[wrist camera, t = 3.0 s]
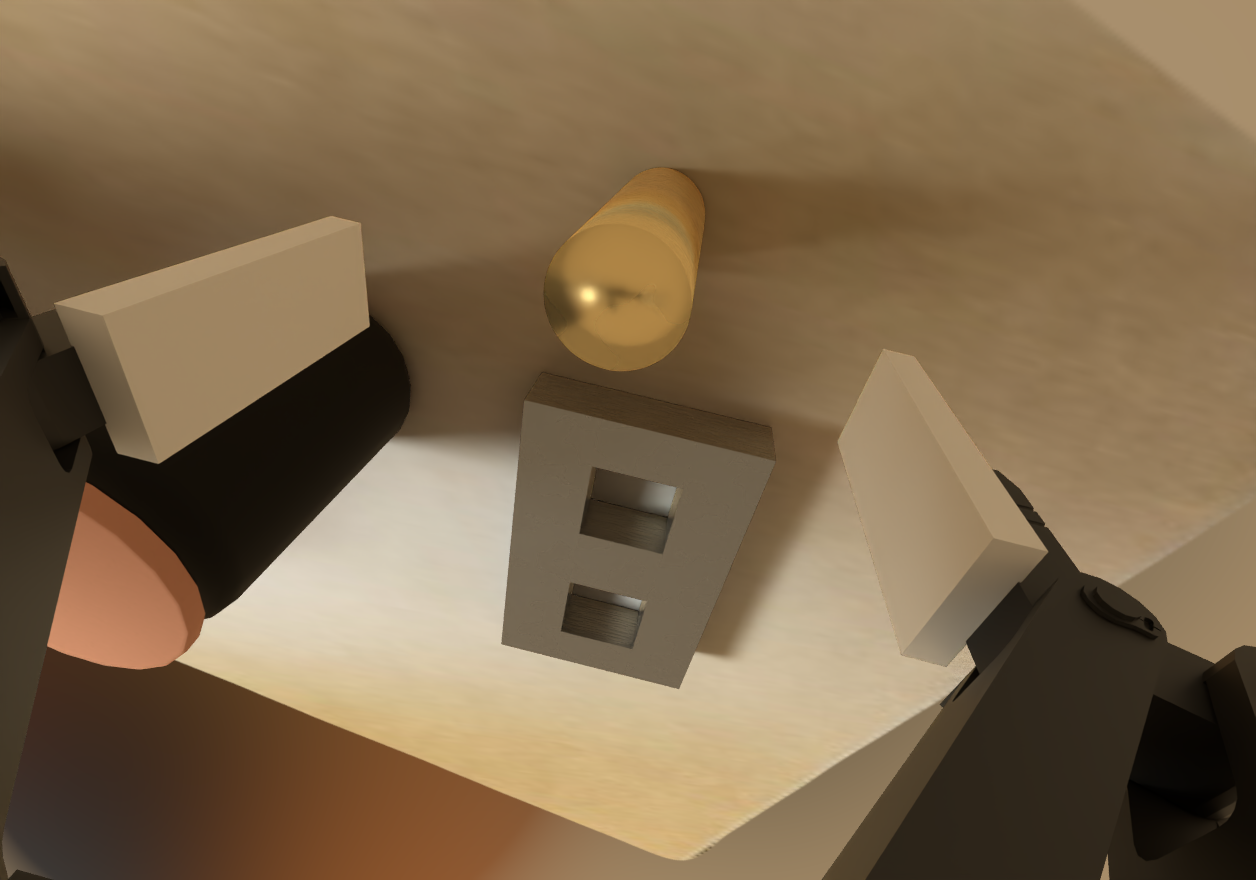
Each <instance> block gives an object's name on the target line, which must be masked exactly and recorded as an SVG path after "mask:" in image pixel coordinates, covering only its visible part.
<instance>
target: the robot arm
mask: <svg viewBox="0 0 1256 880" xmlns="http://www.w3.org/2000/svg"><path fill="white" fill-rule="evenodd" d="M53 304H54V306H55V308H56V309H55V310H52V311H49V312H45V313H42V314H39V315H36V316H33V317H31V315H30V313H29V311H28V309H27V307H26V304H25V302H24V300H23V298H22V296H21V294H20V291H19V289H18V287H17V285H16V283H15V280H14V278H13V276H12V274H11V272H10V269H9V267H8V265H7V263H6V261H5V260H4V259H2V258H0V880H52V879H48V878H45V877H41V876H38V875H34V874H31V873H27V872H23V871H20V870H16V871H15V872H14V873H13V875H12V876H11V877H10V878H9V879H8V876H7V871H6V868H5V864H4V860H3V852H2V838H3V832H4V826H5V822H6V817H7V813H8V809H9V805H10V800H11V796H12V792H13V788H14V783H15V779H16V775H17V771H18V767H19V762H20V758H21V754H22V750H23V746H24V741H25V737H26V733H27V729H28V724H29V720H30V716H31V711H32V707H33V703H34V699H35V695H36V690H37V686H38V682H39V678H40V673H41V669H42V665H43V661H44V657H45V653H46V648H47V644H48V640H49V636H50V631H51V627H52V623H53V619H54V614H55V610H56V606H57V602H58V598H59V593H60V589H61V585H62V581H63V576H64V572H65V568H66V564H67V560H68V555H69V551H70V547H71V543H72V538H73V534H74V530H75V526H76V521H77V517H78V513H79V509H80V505H81V500H82V496H83V492H84V488H85V483H86V479H87V475H88V471H89V467H90V462H91V458H92V451H91V447H90V445H89V442H88V440H87V438H86V436H85V435H86V434H88V433H90V432H92V431H93V430H95V429H97V428H99V427H101V426H103V425H105V426H106V428H107V430H108V433H109V435H110V437H111V440H112V442H113V444H114V447H115V449H116V451H117V453H118V454H122V455H126V456H130V457H134V458H138V459H141V460H145V461H149V462H153V463H157V464H159V463H161V462H162V461H164V460H166V459H167V458H169V457H170V456H172V455H173V454H175V453H176V452H178V451H179V450H181V449H182V448H184V447H185V446H187V445H189V444H190V443H192V442H193V441H195V440H196V439H198V438H199V437H201V436H202V435H204V434H205V433H207V432H208V431H210V430H211V429H213V428H215V427H216V426H218V425H219V424H221V423H222V422H224V421H225V420H227V419H228V418H230V417H231V416H233V415H234V414H236V413H238V412H239V411H241V410H242V409H244V408H245V407H247V406H248V405H250V404H251V403H253V402H254V401H256V400H257V399H259V398H261V397H262V396H264V395H265V394H267V393H268V392H270V391H271V390H273V389H274V388H276V387H277V386H279V385H280V384H282V383H284V382H285V381H287V380H288V379H290V378H291V377H293V376H294V375H296V374H297V373H299V372H300V371H302V370H303V369H305V368H307V367H308V366H310V365H311V364H313V363H314V362H316V361H317V360H319V359H320V358H322V357H323V356H325V355H326V354H328V353H329V352H331V351H333V350H334V349H336V348H337V347H339V346H340V345H342V344H343V343H345V342H346V341H348V340H349V339H351V338H352V337H354V336H356V335H357V334H359V333H360V332H362V331H363V330H365V329H366V328H368V327H369V326H370V324H369V312H368V301H367V289H366V278H365V266H364V255H363V243H362V232H361V223H359V222H355V221H351V220H346V219H342V218H338V217H334V216H329V217H326V218H323V219H320V220H316V221H313V222H310V223H307V224H304V225H301V226H297V227H294V228H291V229H288V230H285V231H281V232H278V233H275V234H272V235H269V236H266V237H262V238H259V239H256V240H253V241H250V242H246V243H243V244H240V245H237V246H234V247H231V248H227V249H224V250H221V251H218V252H215V253H211V254H208V255H205V256H202V257H199V258H196V259H192V260H189V261H186V262H183V263H180V264H177V265H173V266H170V267H167V268H164V269H161V270H157V271H154V272H151V273H148V274H145V275H142V276H138V277H135V278H132V279H129V280H126V281H122V282H119V283H116V284H113V285H110V286H107V287H103V288H100V289H97V290H94V291H91V292H87V293H84V294H81V295H78V296H75V297H72V298H68V299H65V300H62V301H59V302H56V303H53ZM837 442H838V446H839V449H840V453H841V456H842V459H843V463H844V466H845V469H846V473H847V476H848V479H849V483H850V486H851V489H852V493H853V496H854V499H855V503H856V506H857V509H858V513H859V516H860V519H861V523H862V526H863V529H864V533H865V536H866V539H867V543H868V546H869V549H870V553H871V556H872V559H873V563H874V566H875V569H876V573H877V576H878V580H879V583H880V586H881V590H882V593H883V596H884V600H885V603H886V606H887V610H888V613H889V616H890V620H891V623H892V626H893V630H894V633H895V636H896V640H897V643H898V646H899V650H900V653H901V655H902V656H906V657H910V658H914V659H918V660H922V661H926V662H930V663H933V664H937V665H941V666H945V667H947V666H948V665H949V663H950V662H951V661H952V660H953V659H954V658H955V657H956V656H957V654H958V653H959V652H960V651H961V650H962V649H963V648H964V646H965V645H966V644H967V646H968V648H969V650H970V653H971V655H972V658H973V660H974V662H975V665H976V666H975V667H974V668H973V669H972V671H971V672H970V673H969V674H968V675H967V676H966V677H965V678H964V679H963V680H962V681H961V682H960V683H959V684H958V685H957V687H956V688H955V689H954V690H953V691H952V692H951V693H950V694H949V695H948V696H947V697H946V698H945V699H944V700H943V701H942V703H941V704H940V705H941V706H942V707H943V709H942V710H941V712H940V713H939V714H938V716H937V717H936V719H935V720H934V722H933V723H932V724H931V726H930V727H929V729H928V730H927V732H926V733H925V734H924V736H923V737H922V739H921V740H920V741H919V743H918V744H917V746H916V747H915V748H914V750H913V751H912V753H911V754H910V756H909V757H908V758H907V760H906V761H905V763H904V764H903V765H902V767H901V768H900V770H899V771H898V773H897V774H896V775H895V777H894V778H893V780H892V781H891V782H890V784H889V785H888V787H887V788H886V789H885V791H884V792H883V794H882V795H881V797H880V798H879V799H878V801H877V802H876V804H875V805H874V806H873V808H872V809H871V811H870V812H869V814H868V815H867V816H866V818H865V819H864V821H863V822H862V823H861V825H860V826H859V828H858V829H857V831H856V832H855V833H854V835H853V836H852V838H851V839H850V841H849V842H848V843H847V845H846V846H845V848H844V849H843V851H842V852H841V853H840V855H839V856H838V857H837V859H836V860H835V862H834V863H833V864H832V866H831V867H830V869H829V870H828V872H827V873H826V874H825V876H824V877H823V879H822V880H1100V878H1101V874H1102V871H1103V868H1104V864H1105V861H1106V857H1107V854H1108V865H1109V878H1110V880H1256V647H1252V646H1245V645H1244V646H1241V647H1239V648H1237V649H1235V650H1233V651H1232V652H1230V653H1229V654H1228V655H1226V656H1225V657H1224V658H1222V659H1221V660H1220V661H1218V662H1217V663H1216V664H1214V663H1212V662H1210V661H1208V660H1206V659H1203V658H1201V657H1199V656H1197V655H1194V654H1192V653H1190V652H1188V651H1185V650H1183V649H1181V648H1179V647H1177V646H1174V645H1172V644H1170V643H1168V642H1167V637H1166V631H1165V630H1164V628H1163V627H1162V625H1161V624H1160V623H1159V621H1158V620H1157V618H1156V617H1155V616H1154V615H1153V614H1152V613H1151V612H1150V611H1149V610H1148V609H1146V608H1145V607H1144V606H1143V605H1142V604H1141V603H1140V602H1139V601H1137V600H1136V599H1134V598H1133V597H1132V596H1130V595H1129V594H1127V593H1126V592H1124V591H1123V590H1121V589H1120V588H1118V587H1116V586H1114V585H1112V584H1110V583H1108V582H1106V581H1104V580H1102V579H1101V578H1098V577H1094V576H1091V575H1088V574H1085V573H1082V572H1080V571H1079V570H1078V569H1077V567H1076V566H1075V565H1074V563H1073V562H1072V560H1071V559H1070V558H1069V556H1068V555H1067V553H1066V552H1065V551H1064V549H1063V548H1062V547H1061V545H1060V544H1059V542H1058V541H1057V540H1056V538H1055V537H1054V535H1053V534H1052V533H1051V531H1050V530H1049V529H1048V528H1047V527H1044V525H1045V523H1044V522H1043V520H1042V519H1041V517H1040V516H1039V515H1038V513H1037V512H1034V511H1033V509H1034V508H1033V506H1032V505H1031V504H1030V502H1029V501H1028V499H1027V498H1026V497H1025V495H1024V494H1023V492H1022V491H1021V490H1020V489H1019V488H1018V487H1017V486H1016V485H1014V484H1013V483H1012V482H1011V481H1010V480H1009V479H1007V478H1006V477H1005V476H1004V475H1003V474H1001V473H1000V472H999V471H997V470H993V469H991V467H990V466H989V464H988V463H987V461H986V460H985V458H984V457H983V456H982V454H981V453H980V451H979V450H978V448H977V447H976V445H975V444H974V442H973V441H972V439H971V438H970V437H969V435H968V434H967V432H966V431H965V429H964V428H963V426H962V425H961V423H960V422H959V420H958V419H957V418H956V416H955V415H954V413H953V412H952V410H951V409H950V407H949V406H948V404H947V403H946V401H945V400H944V399H943V397H942V396H941V394H940V393H939V391H938V390H937V388H936V387H935V385H934V384H933V383H932V381H931V380H930V378H929V377H928V375H927V374H926V372H925V371H924V369H923V368H922V366H921V365H920V364H919V362H918V361H917V359H916V358H915V356H911V355H907V354H903V353H899V352H895V351H890V350H886V349H883V350H882V352H881V354H880V356H879V358H878V360H877V362H876V364H875V366H874V368H873V370H872V372H871V374H870V376H869V378H868V380H867V382H866V384H865V386H864V388H863V390H862V392H861V394H860V396H859V398H858V401H857V403H856V405H855V407H854V409H853V411H852V413H851V415H850V417H849V419H848V421H847V423H846V425H845V427H844V429H843V431H842V433H841V435H840V437H839V439H838V441H837Z"/></svg>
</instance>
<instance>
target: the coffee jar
mask: <svg viewBox="0 0 1256 880" xmlns="http://www.w3.org/2000/svg"><path fill="white" fill-rule="evenodd" d="M369 324H370V326H369V327H368V328H366V329H365V330H363V331H362V332H360V333H359V334H357V335H356V336H354V337H352V338H351V339H349V340H348V341H346V342H345V343H343V344H342V345H340V346H339V347H337V348H336V349H334V350H333V351H331V352H329V353H328V354H326V355H325V356H323V357H322V358H320V359H319V360H317V361H316V362H314V363H313V364H311V365H310V366H308V367H307V368H305V369H303V370H302V371H300V372H299V373H297V374H296V375H294V376H293V377H291V378H290V379H288V380H287V381H285V382H284V383H282V384H280V385H279V386H277V387H276V388H274V389H273V390H271V391H270V392H268V393H267V394H265V395H264V396H262V397H261V398H259V399H257V400H256V401H254V402H253V403H251V404H250V405H248V406H247V407H245V408H244V409H242V410H241V411H239V412H238V413H236V414H234V415H233V416H231V417H230V418H228V419H227V420H225V421H224V422H222V423H221V424H219V425H218V426H216V427H215V428H213V429H211V430H210V431H208V432H207V433H205V434H204V435H202V436H201V437H199V438H198V439H196V440H195V441H193V442H192V443H190V444H189V445H187V446H185V447H184V448H182V449H181V450H179V451H178V452H176V453H175V454H173V455H172V456H170V457H169V458H167V459H166V460H164V461H162V462H161V463H159V464H157V463H153V462H149V461H145V460H141V459H138V458H134V457H130V456H126V455H122V454H118V453H117V451H116V449H115V447H114V444H113V442H112V440H111V437H110V435H109V433H108V430H107V428H106V426H105V425H103V426H101V427H99V428H97V429H95V430H93V431H92V432H90V433H88V434H86V435H85V436H86V438H87V440H88V442H89V445H90V447H91V451H92V458H91V462H90V467H89V471H88V475H87V479H86V483H85V488H84V492H83V496H82V500H81V505H80V509H79V513H78V517H77V521H76V526H75V530H74V534H73V538H72V543H71V547H70V551H69V555H68V560H67V564H66V568H65V572H64V576H63V581H62V585H61V589H60V593H59V598H58V602H57V606H56V610H55V614H54V619H53V623H52V627H51V631H50V636H49V640H48V644H47V646H48V647H51V648H53V649H55V650H58V651H60V652H62V653H65V654H68V655H71V656H75V657H78V658H82V659H85V660H88V661H92V662H95V663H99V664H102V665H106V666H115V667H123V668H132V669H146V668H153V667H160V666H166V665H168V664H169V663H171V662H172V661H174V660H175V659H177V658H178V657H179V656H181V655H182V654H184V653H185V652H186V651H187V650H188V649H189V648H190V647H191V645H192V644H193V643H194V642H195V641H196V639H197V638H198V637H199V635H200V632H201V628H202V624H203V621H204V619H207V618H211V617H213V616H214V615H216V614H217V613H219V612H220V611H222V610H223V609H224V608H226V607H227V606H228V605H230V604H231V603H232V602H234V601H235V600H237V599H238V598H239V597H240V596H241V595H242V594H243V593H244V592H245V591H246V590H247V588H248V587H249V586H250V585H251V584H252V583H253V582H254V581H255V580H256V579H257V578H258V577H259V576H260V575H261V574H262V573H263V572H264V571H265V570H266V569H267V568H268V567H269V566H270V564H271V563H272V562H273V561H274V560H275V559H276V558H277V557H278V556H279V555H280V554H281V553H282V552H283V551H284V550H285V549H286V548H287V547H288V546H289V545H290V544H291V543H292V542H293V540H294V539H295V538H296V537H297V536H298V535H299V534H300V533H301V532H302V531H303V530H304V529H305V528H306V527H307V526H308V525H309V524H310V523H311V522H312V521H313V520H314V519H315V518H316V516H317V515H318V514H319V513H320V512H321V511H322V510H323V509H324V508H325V507H326V506H327V505H328V504H329V503H330V502H331V501H332V500H333V499H334V498H335V497H336V496H337V495H338V494H339V492H340V491H341V490H342V489H343V488H344V487H345V486H346V485H347V484H348V483H349V482H350V481H351V480H352V479H353V478H354V477H355V476H356V475H357V474H358V473H359V472H360V471H361V470H362V469H363V467H364V466H365V465H366V464H367V463H368V462H369V461H370V460H371V459H372V458H373V457H374V456H375V455H376V454H377V453H378V452H379V451H380V450H381V449H382V448H383V447H384V446H385V445H386V443H387V442H388V441H389V440H390V439H391V438H392V437H393V436H394V435H395V434H396V433H397V432H398V431H399V430H400V429H401V426H402V424H403V422H404V420H405V418H406V416H407V414H408V412H409V407H410V382H409V376H408V372H407V369H406V365H405V362H404V358H403V356H402V354H401V352H400V351H399V349H398V348H397V346H396V344H395V343H394V341H393V339H392V338H391V336H390V335H389V334H388V333H387V332H386V331H385V330H384V329H383V328H382V327H381V326H380V325H379V324H378V323H377V322H376V321H375V320H374V319H373V318H372V317H371V316H370V315H369Z"/></svg>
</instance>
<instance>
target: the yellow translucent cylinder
mask: <svg viewBox="0 0 1256 880" xmlns="http://www.w3.org/2000/svg"><path fill="white" fill-rule="evenodd" d="M704 224H705V206H704V201H703V198H702V196H701V193H700V191H699V190H698V188H697V186H696V185H695V184H694V183H693V181H692V180H691V179H689V178H688V177H687V176H686V175H684V174H683V173H681V172H679V171H677V170H674V169H670V168H652V169H648V170H645V171H643V172H641V173H639V174H638V175H636V176H635V177H634V178H633V179H631V180H630V181H629V182H628V183H627V184H626V185H625V186H624V187H623V188H622V189H621V190H620V191H619V192H618V193H617V194H616V195H615V196H613V197H612V198H611V199H610V200H609V201H608V202H607V203H606V204H605V205H604V206H603V207H602V208H601V209H600V210H599V211H598V212H597V213H596V214H595V215H594V216H592V217H591V218H590V219H589V220H588V221H587V222H586V223H585V224H584V225H583V226H582V227H581V228H580V229H579V230H578V231H577V232H576V233H575V234H574V235H572V236H571V237H570V238H569V239H568V240H567V241H566V242H565V243H564V244H563V245H562V246H561V248H560V249H559V250H558V251H557V253H556V254H555V256H554V257H553V259H552V261H551V263H550V265H549V267H548V270H547V273H546V277H545V283H544V304H545V309H546V313H547V316H548V319H549V322H550V324H551V326H552V328H553V330H554V332H555V333H556V335H557V337H558V338H559V339H560V341H561V342H562V343H563V344H564V345H565V347H567V348H568V349H569V350H570V351H571V352H572V353H573V354H574V355H576V356H577V357H579V358H580V359H582V360H583V361H585V362H587V363H589V364H591V365H594V366H596V367H599V368H603V369H607V370H612V371H632V370H637V369H642V368H645V367H648V366H650V365H652V364H654V363H657V362H658V361H660V360H661V359H663V358H664V357H666V356H667V355H668V354H669V353H670V352H671V351H672V350H673V349H674V348H675V347H676V346H677V345H678V343H679V342H680V340H681V339H682V337H683V335H684V333H685V331H686V329H687V326H688V323H689V320H690V315H691V310H692V303H693V297H694V290H695V283H696V277H697V270H698V264H699V257H700V251H701V244H702V237H703V231H704Z"/></svg>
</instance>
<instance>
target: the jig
mask: <svg viewBox="0 0 1256 880" xmlns="http://www.w3.org/2000/svg"><path fill="white" fill-rule="evenodd" d="M775 463H776V457H775V450H774V443H773V435H772V428H771V427H767V426H763V425H759V424H755V423H750V422H746V421H742V420H738V419H734V418H730V417H726V416H721V415H717V414H713V413H709V412H705V411H701V410H697V409H692V408H688V407H684V406H680V405H676V404H672V403H668V402H663V401H659V400H655V399H651V398H647V397H643V396H639V395H634V394H630V393H626V392H622V391H618V390H614V389H610V388H605V387H601V386H597V385H593V384H589V383H585V382H581V381H576V380H572V379H568V378H564V377H560V376H556V375H552V374H548V373H543V372H542V373H541V375H540V376H539V378H538V379H537V381H536V382H535V384H534V386H533V387H532V389H531V390H530V392H529V393H528V395H527V396H526V398H525V399H524V406H523V417H522V428H521V439H520V450H519V460H518V471H517V482H516V493H515V503H514V514H513V525H512V536H511V546H510V557H509V568H508V579H507V589H506V600H505V611H504V622H503V633H502V643H501V644H503V645H507V646H511V647H515V648H519V649H523V650H527V651H531V652H535V653H539V654H542V655H546V656H550V657H554V658H558V659H562V660H566V661H570V662H574V663H578V664H582V665H586V666H590V667H594V668H598V669H602V670H606V671H610V672H614V673H618V674H622V675H625V676H629V677H633V678H637V679H641V680H645V681H649V682H653V683H657V684H661V685H665V686H669V687H673V688H677V689H679V688H680V685H681V683H682V681H683V678H684V676H685V674H686V671H687V669H688V667H689V664H690V662H691V660H692V657H693V655H694V653H695V650H696V648H697V645H698V643H699V641H700V638H701V636H702V634H703V631H704V629H705V627H706V624H707V622H708V620H709V617H710V615H711V613H712V610H713V608H714V606H715V603H716V601H717V599H718V596H719V594H720V592H721V589H722V587H723V584H724V582H725V580H726V577H727V575H728V573H729V570H730V568H731V566H732V563H733V561H734V559H735V556H736V554H737V552H738V549H739V547H740V545H741V542H742V540H743V538H744V535H745V533H746V531H747V528H748V526H749V524H750V521H751V519H752V516H753V514H754V512H755V509H756V507H757V505H758V502H759V500H760V498H761V495H762V493H763V491H764V488H765V486H766V484H767V481H768V479H769V477H770V474H771V472H772V470H773V467H774V465H775ZM597 468H600V469H604V470H608V471H612V472H617V473H621V474H625V475H629V476H633V477H637V478H641V479H645V480H649V481H653V482H657V483H661V484H666V485H670V486H674V487H677V488H676V492H675V495H674V498H673V501H672V505H671V508H670V511H669V514H668V518H666V517H662V516H658V515H654V514H650V513H646V512H642V511H638V510H634V509H630V508H625V507H621V506H617V505H613V504H609V503H605V502H601V501H597V500H593V499H591V494H592V489H593V484H594V479H595V474H596V469H597ZM574 583H575V584H579V585H583V586H587V587H591V588H595V589H599V590H603V591H607V592H611V593H615V594H619V595H623V596H627V597H631V598H635V599H639V600H642V602H641V605H640V608H639V611H636V610H632V609H628V608H624V607H620V606H616V605H612V604H608V603H604V602H600V601H596V600H592V599H588V598H584V597H580V596H576V595H572V591H573V586H574Z"/></svg>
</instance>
